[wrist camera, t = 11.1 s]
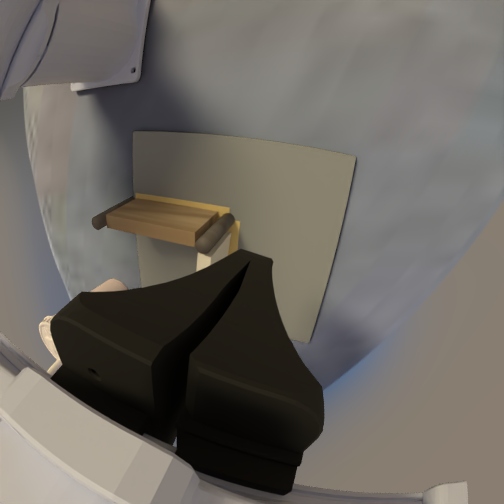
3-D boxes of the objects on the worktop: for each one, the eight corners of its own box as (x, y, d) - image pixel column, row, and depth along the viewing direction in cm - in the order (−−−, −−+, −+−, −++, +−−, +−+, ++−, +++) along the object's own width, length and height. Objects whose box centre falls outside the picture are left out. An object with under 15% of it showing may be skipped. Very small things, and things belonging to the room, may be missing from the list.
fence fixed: (130, 195, 23) (90, 215, 18) (236, 212, 21) (211, 240, 17) (130, 206, 23) (92, 228, 19) (235, 225, 22) (210, 255, 17)
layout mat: (135, 131, 20) (132, 131, 20) (355, 156, 17) (356, 157, 17) (144, 297, 28) (142, 299, 27) (309, 340, 25) (308, 343, 24)
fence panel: (219, 229, 21) (197, 253, 18) (231, 232, 21) (211, 257, 18) (210, 311, 25) (192, 341, 22) (220, 314, 25) (203, 344, 22)
